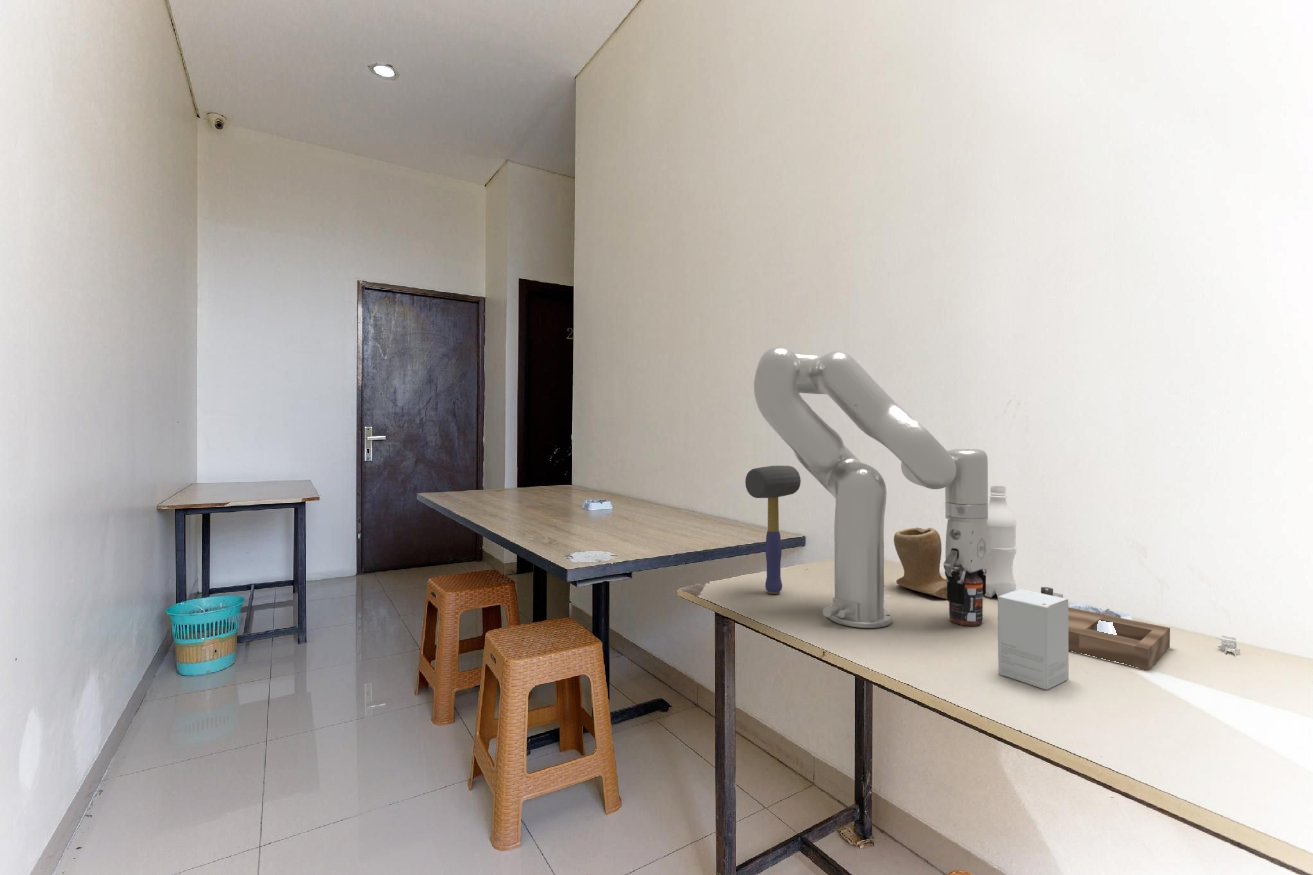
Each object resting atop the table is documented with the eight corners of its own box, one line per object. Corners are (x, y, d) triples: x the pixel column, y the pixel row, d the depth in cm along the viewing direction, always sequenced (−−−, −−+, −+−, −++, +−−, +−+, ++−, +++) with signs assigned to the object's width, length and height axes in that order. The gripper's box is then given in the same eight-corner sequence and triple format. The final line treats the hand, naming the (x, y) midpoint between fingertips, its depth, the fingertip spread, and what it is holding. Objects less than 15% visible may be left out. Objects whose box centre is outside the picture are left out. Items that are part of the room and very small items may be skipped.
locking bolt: (1048, 612, 113) (1048, 593, 113) (1030, 609, 115) (1030, 590, 115) (1062, 604, 118) (1063, 586, 118) (1045, 600, 120) (1045, 583, 120)
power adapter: (1240, 655, 102) (1240, 637, 102) (1238, 659, 100) (1239, 641, 100) (1216, 650, 104) (1216, 632, 104) (1214, 654, 103) (1214, 636, 103)
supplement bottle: (981, 629, 115) (981, 570, 115) (947, 623, 118) (947, 567, 118) (983, 620, 120) (983, 564, 120) (950, 615, 123) (951, 560, 123)
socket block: (1147, 670, 95) (1148, 649, 95) (999, 633, 112) (999, 615, 112) (1169, 647, 105) (1170, 627, 105) (1029, 616, 122) (1029, 599, 122)
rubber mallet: (780, 585, 147) (779, 463, 146) (804, 592, 141) (803, 465, 140) (743, 594, 140) (742, 466, 139) (766, 601, 134) (765, 467, 133)
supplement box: (1070, 679, 93) (1071, 598, 92) (1046, 691, 89) (1047, 607, 88) (1020, 663, 99) (1020, 587, 99) (996, 673, 95) (996, 594, 95)
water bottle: (1006, 592, 139) (1007, 485, 138) (1022, 601, 132) (1022, 488, 131) (974, 591, 140) (974, 485, 139) (988, 600, 133) (988, 488, 132)
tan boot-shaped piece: (882, 587, 145) (882, 525, 144) (921, 582, 149) (921, 522, 148) (932, 604, 130) (932, 536, 130) (972, 598, 135) (973, 532, 134)
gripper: (966, 518, 110) (966, 611, 111) (1004, 508, 121) (1005, 593, 122) (926, 514, 116) (927, 602, 116) (966, 505, 127) (966, 586, 127)
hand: (966, 597), depth 119 cm, fingers open, 8 cm apart
